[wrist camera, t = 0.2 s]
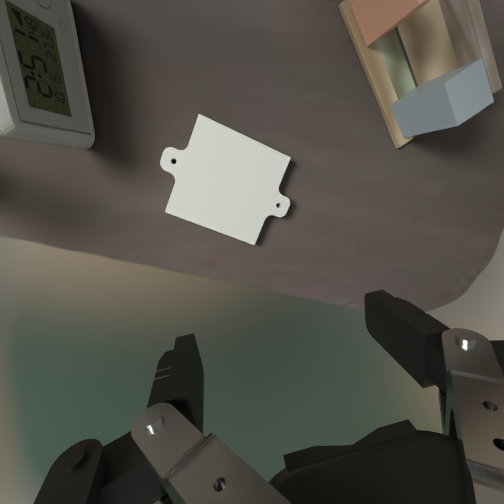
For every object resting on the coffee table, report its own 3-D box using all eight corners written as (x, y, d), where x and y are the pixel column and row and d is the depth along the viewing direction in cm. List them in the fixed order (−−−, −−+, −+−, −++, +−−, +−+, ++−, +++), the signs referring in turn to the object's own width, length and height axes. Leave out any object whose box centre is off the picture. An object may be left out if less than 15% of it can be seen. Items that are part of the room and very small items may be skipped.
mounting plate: (148, 203, 37) (145, 204, 36) (180, 108, 35) (179, 104, 33) (267, 247, 42) (270, 251, 40) (301, 165, 40) (306, 165, 38)
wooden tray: (396, 148, 41) (416, 144, 37) (337, 5, 35) (355, -17, 31) (473, 96, 41) (502, 87, 37) (428, -55, 35) (457, -84, 31)
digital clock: (98, 155, 35) (55, 145, 24) (15, 142, 33) (-68, 125, 23) (101, 5, 31) (52, -80, 21) (9, -19, 29) (-94, -125, 19)
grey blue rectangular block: (403, 137, 40) (457, 126, 31) (390, 104, 39) (444, 83, 30) (431, 118, 40) (494, 101, 32) (419, 85, 39) (481, 57, 30)
